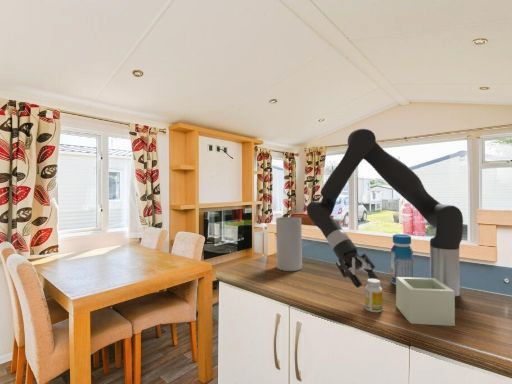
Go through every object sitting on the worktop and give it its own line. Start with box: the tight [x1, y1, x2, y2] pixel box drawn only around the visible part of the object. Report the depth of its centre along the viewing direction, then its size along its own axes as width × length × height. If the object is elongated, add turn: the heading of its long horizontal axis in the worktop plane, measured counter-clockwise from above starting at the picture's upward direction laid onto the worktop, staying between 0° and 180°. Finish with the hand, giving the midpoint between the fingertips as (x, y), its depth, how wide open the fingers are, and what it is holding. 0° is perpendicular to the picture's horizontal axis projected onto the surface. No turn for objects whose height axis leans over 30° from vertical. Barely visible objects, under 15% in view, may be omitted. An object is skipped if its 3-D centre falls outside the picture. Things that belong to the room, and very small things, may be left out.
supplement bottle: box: [364, 278, 384, 313], centre depth 94 cm, size 5×5×10 cm
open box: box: [395, 276, 456, 327], centre depth 89 cm, size 12×12×10 cm
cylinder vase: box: [275, 216, 303, 272], centre depth 142 cm, size 12×12×25 cm
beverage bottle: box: [390, 233, 414, 286], centre depth 118 cm, size 8×8×20 cm
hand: (368, 284), depth 95 cm, fingers open, 8 cm apart
